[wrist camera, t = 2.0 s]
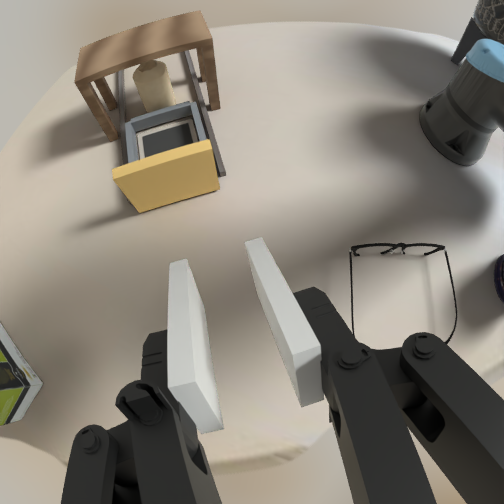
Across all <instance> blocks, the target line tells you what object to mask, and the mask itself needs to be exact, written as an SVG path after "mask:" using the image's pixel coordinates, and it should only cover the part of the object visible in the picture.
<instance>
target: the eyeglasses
mask: <svg viewBox="0 0 504 504" xmlns="http://www.w3.org/2000/svg"><path fill="white" fill-rule="evenodd" d="M372 246H391V247H392V248H391V249H389V250H386V251H384V252H381V254H385V253H388V252H390V254H392V253H394V252H392V250H393V251H394V249H396V248H398V247H402V252H401V254H402V253H403V254H405V252H404V249H405V248H406V247H411V246H432V247H438V248H437V249H435V250H433V251H431V252H428V253H424V255H429V254H432V253H435V252H437V251H439V250H444V252H445V256H446V260H447V265H448V269H449V274H450V278H451V283H452V288H453V294H454V300H455V308H456V320H455V325H454V329H453V331H452V334H451V335H450V337H449V338H448V340H447V341H446V342H444V343H445V344H446V345H447V344H448V342H449V341H450V339H451V337H452V335H453V333H454V331H455V327H456V322H457V306H456V298H455V291H454V286H453V280H452V275H451V270H450V265H449V261H448V256H447V252H446V249H445V246H442V245H437V244H427V243H416V244H404V243H398V244H390V243H375V244H364V245H357V246H352V247H350V251H349V254H350V275H351V311H352V330H353V335H354V324H353V289H352V257H351V253H352V251H353V254H354V256H360V255H359V254H356V250H357V249H359V248H364V247H372ZM354 337H355V335H354Z"/></svg>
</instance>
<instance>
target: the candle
mask: <svg viewBox="0 0 504 504" xmlns="http://www.w3.org/2000/svg"><path fill="white" fill-rule="evenodd" d="M133 79H134V82H135V85H136V87H137V90H138V92H139V95H140V97H141V99H142V102H143V104H144V107H145V109H146V111H147V113H150V112H153V111H156V110H160V109H163V108H166V107H170V106H173V105H175V103H176V101H175V96H174V93H173V89H172V86H171V82H170V78H169V75H168V71H167V67H166V65H165V64H164V63H163V62H160V61H155V60H150V61H147V62H144V63H141V64H140V66H139V67H138V68H137V69H136V70H135V72H134V74H133Z"/></svg>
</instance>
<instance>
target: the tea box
mask: <svg viewBox="0 0 504 504" xmlns="http://www.w3.org/2000/svg"><path fill="white" fill-rule="evenodd" d="M42 385H43V383H42V381H41V380H40V379H39V377H38V376H37V375H36V374H35V372H34V371H33V370H32V368H31V367H30V366H29V364H28V363H27V362H26V360H25V359H24V357H23V356H22V355H21V353H20V352H19V350H18V349H17V347H16V346H15V344H14V343H13V341H12V340H11V338H10V337H9V335H8V334H7V332H6V331H5V329H4V327H3V326H2V324H1V322H0V426H1V425H5V424H8V423H12V422H15V421H18V420H21V419H22V417H23V416H24V414H25V413H26V411H27V409H28V408H29V406H30V404H31V403H32V401H33V399H34V398H35V396H36V395H37V393H38V392H39V390H40V388H41V387H42Z"/></svg>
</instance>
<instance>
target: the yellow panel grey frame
mask: <svg viewBox="0 0 504 504" xmlns="http://www.w3.org/2000/svg"><path fill="white" fill-rule="evenodd" d="M190 115H193V118H194V122H195V126H196V129H197V133H198V137H199V141H200V142H196V143H192V144H189V145H185V146H182V147H178V148H175V149H172V150H168V151H165V152H162V153H159V154H155V155H152V156H149V157H146V158H143V159H140V160H138V152H137V143H136V134H135V132H137V131H140V130H143V129H146V128H150V127H153V126H156V125H159V124H162V123H166V122H169V121H172V120H176V119H179V118H183V117H186V116H190ZM125 130H126V143H127V153H128V164H125V165H122V166H120V167H117V168H114V169H112V173H113V180H114V181H115V183H116V184H117V185H118V187H119V188H120V189H121V190H122V192H123V193H124V194H125V195H126V197H127V198H128V199H129V200H130V202H131V203H132V204H133V205H134V207H135V208H136V209H137V210H138V212H139V213H141V212H144V211H148V210H151V209H154V208H157V207H160V206H164V205H167V204H170V203H174V202H177V201H180V200H184V199H187V198H191V197H194V196H197V195H201V194H205V193H208V192H212V191H215V190H219V189H220V186H219V181H218V176H217V171H216V165H215V160H214V155H213V149H212V146H211V142H210V139H206V135H205V132H204V128H203V125H202V121H201V118H200V114H199V111H198V107H197V103H196V101H195V102H192V103H190V102H189V101H187V102H184V103H180V104H176V105H173V106H170V107H166V108H163V109H160V110H156V111H153V112H150V113H147V114H144V115H141V116H138V117H135V118H132V119H131V121H129V122H127V123H125Z"/></svg>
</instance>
